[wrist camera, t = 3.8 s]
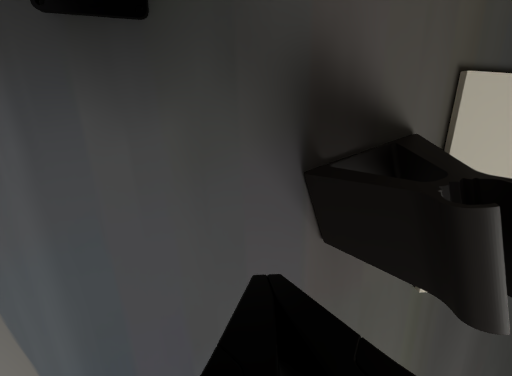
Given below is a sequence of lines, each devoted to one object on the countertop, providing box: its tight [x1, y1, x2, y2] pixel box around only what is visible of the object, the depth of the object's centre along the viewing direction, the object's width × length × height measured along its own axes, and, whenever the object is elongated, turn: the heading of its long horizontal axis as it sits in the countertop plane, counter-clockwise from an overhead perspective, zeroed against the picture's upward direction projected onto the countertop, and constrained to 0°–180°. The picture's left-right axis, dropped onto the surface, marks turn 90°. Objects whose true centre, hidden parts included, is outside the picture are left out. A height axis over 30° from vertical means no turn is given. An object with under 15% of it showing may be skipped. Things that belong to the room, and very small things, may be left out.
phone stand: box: [304, 134, 512, 335], centre depth 17 cm, size 9×6×12 cm, turn 108°
